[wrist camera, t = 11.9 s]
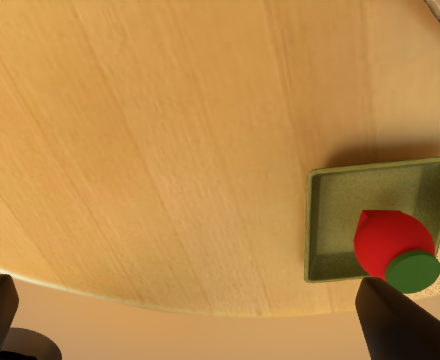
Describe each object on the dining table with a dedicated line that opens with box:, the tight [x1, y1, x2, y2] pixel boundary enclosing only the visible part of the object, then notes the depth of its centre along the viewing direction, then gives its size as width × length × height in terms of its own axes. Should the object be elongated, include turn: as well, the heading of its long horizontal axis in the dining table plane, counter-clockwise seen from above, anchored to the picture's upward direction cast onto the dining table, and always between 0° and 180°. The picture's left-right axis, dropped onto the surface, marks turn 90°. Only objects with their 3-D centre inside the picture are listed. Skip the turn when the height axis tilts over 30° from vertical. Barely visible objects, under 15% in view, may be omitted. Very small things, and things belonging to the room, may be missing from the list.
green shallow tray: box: [304, 157, 440, 283], centre depth 21 cm, size 9×9×2 cm
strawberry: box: [353, 210, 440, 294], centre depth 18 cm, size 4×4×4 cm
